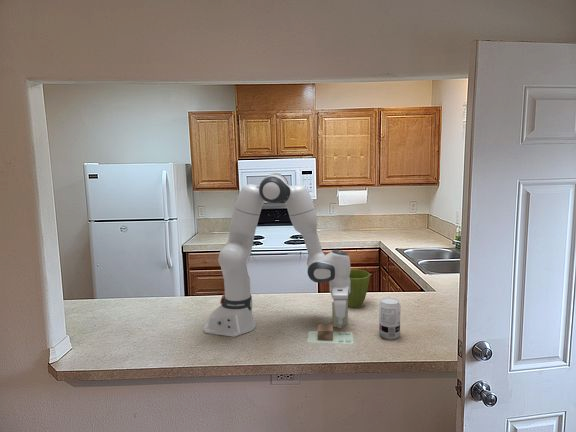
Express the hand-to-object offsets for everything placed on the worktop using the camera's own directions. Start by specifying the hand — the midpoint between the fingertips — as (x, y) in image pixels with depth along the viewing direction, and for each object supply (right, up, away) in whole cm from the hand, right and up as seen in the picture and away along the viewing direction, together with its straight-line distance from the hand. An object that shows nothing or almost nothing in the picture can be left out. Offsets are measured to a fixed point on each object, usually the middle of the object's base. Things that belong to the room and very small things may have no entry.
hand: (340, 318), depth 174 cm
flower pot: (+10, 0, +25) cm, 27 cm away
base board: (-5, -6, -11) cm, 13 cm away
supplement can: (+19, -5, -8) cm, 21 cm away
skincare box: (0, -4, +1) cm, 4 cm away
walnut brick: (-7, -5, -11) cm, 14 cm away
